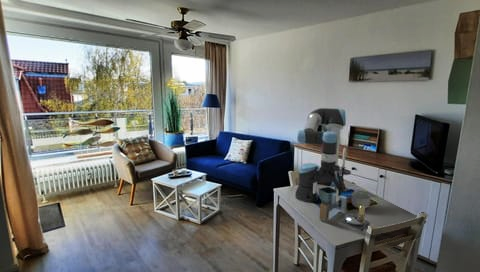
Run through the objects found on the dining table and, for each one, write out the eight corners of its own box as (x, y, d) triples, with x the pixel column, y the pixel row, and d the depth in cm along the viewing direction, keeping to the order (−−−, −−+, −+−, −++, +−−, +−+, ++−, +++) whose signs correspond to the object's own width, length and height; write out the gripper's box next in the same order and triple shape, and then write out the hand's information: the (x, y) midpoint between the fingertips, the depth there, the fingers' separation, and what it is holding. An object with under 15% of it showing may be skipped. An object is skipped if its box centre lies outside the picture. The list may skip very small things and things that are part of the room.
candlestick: (352, 191, 181) (357, 144, 174) (339, 193, 178) (343, 145, 172) (342, 186, 191) (346, 141, 185) (330, 187, 189) (333, 142, 182)
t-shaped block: (330, 224, 138) (331, 208, 136) (315, 218, 144) (316, 203, 143) (347, 210, 153) (348, 196, 152) (333, 205, 160) (334, 192, 158)
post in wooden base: (325, 221, 139) (326, 206, 137) (319, 218, 142) (320, 203, 140) (339, 210, 151) (340, 196, 150) (333, 208, 154) (334, 194, 152)
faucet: (340, 217, 142) (342, 200, 140) (354, 214, 146) (356, 197, 144) (355, 227, 133) (357, 208, 131) (369, 223, 136) (371, 205, 134)
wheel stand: (348, 215, 147) (348, 213, 147) (368, 222, 140) (368, 220, 140) (340, 222, 140) (340, 220, 140) (360, 230, 132) (361, 228, 132)
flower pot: (317, 201, 166) (318, 188, 164) (327, 199, 169) (328, 186, 167) (326, 207, 158) (327, 193, 156) (337, 204, 161) (338, 191, 159)
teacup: (371, 211, 152) (372, 199, 151) (352, 210, 154) (353, 197, 153) (365, 201, 165) (366, 190, 164) (347, 200, 168) (348, 188, 166)
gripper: (304, 157, 141) (302, 191, 146) (348, 167, 124) (345, 206, 129) (311, 154, 146) (309, 188, 151) (354, 164, 129) (351, 201, 134)
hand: (325, 196), depth 140 cm, fingers open, 13 cm apart
